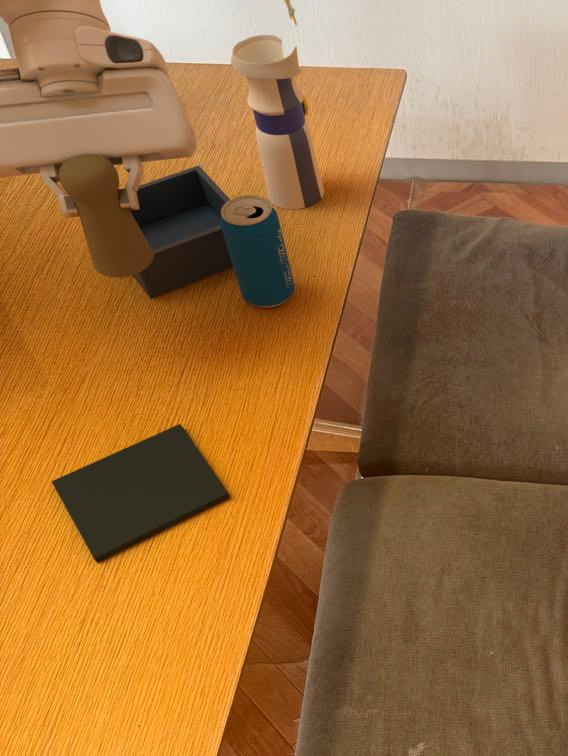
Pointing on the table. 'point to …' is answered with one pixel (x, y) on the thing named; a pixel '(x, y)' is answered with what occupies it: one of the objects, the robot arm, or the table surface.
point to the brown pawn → (105, 217)
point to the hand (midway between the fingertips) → (102, 212)
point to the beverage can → (257, 250)
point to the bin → (181, 230)
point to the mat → (139, 491)
